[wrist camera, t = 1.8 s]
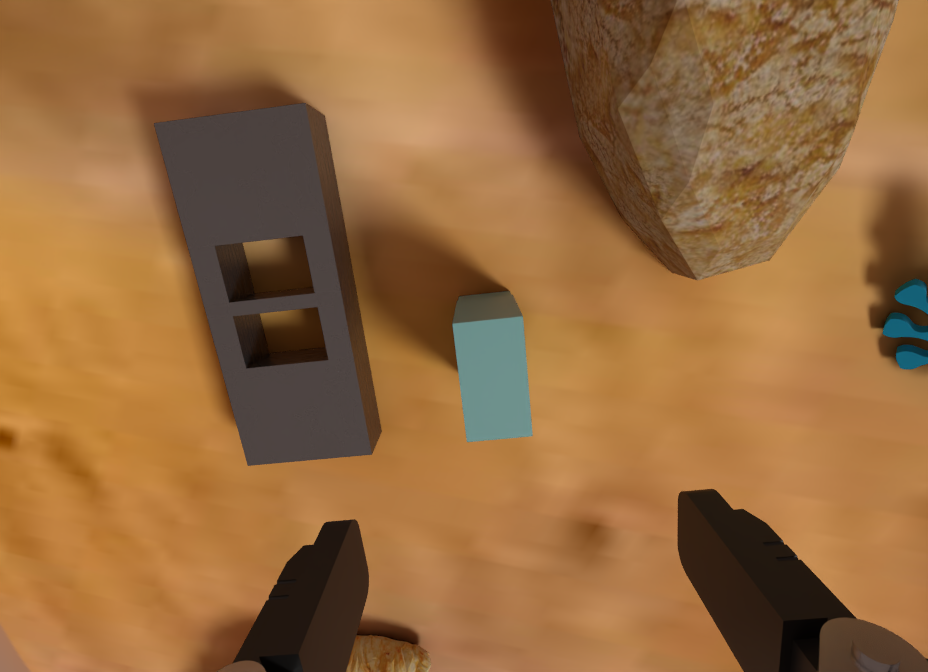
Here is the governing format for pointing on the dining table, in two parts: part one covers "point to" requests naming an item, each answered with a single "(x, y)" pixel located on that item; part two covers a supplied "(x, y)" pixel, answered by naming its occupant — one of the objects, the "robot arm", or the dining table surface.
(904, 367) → the gear
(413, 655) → the croissant
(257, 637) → the robot arm
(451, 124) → the dining table surface
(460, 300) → the teal block
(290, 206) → the rail
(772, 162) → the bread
